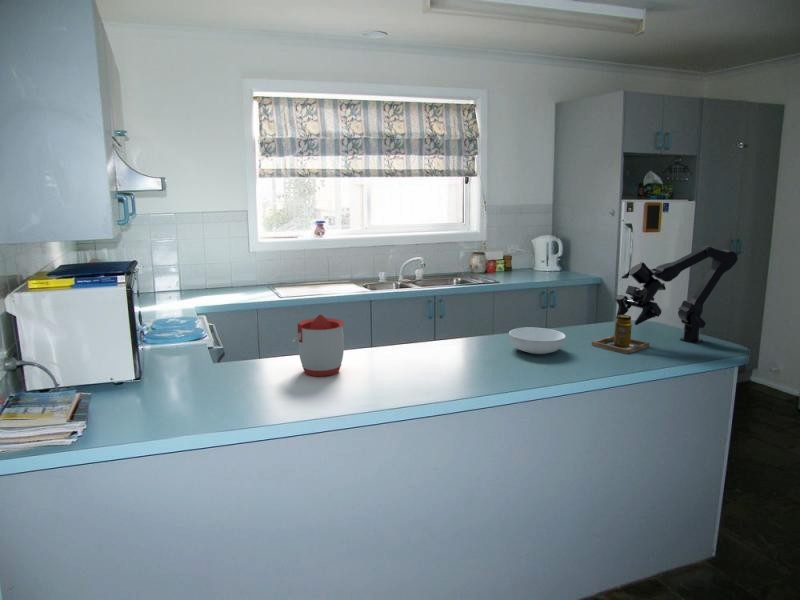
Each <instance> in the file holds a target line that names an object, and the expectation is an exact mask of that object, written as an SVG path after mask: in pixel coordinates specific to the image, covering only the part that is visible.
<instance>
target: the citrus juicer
mask: <svg viewBox="0 0 800 600" xmlns="http://www.w3.org/2000/svg"><path fill="white" fill-rule="evenodd" d="M344 325H345V322H344V321H343V320H341V319H337V318H331V317H330V318H328V317H325V316H324V315H323V314H321V313H320V314H318V315H317V316H316V317H315V318H308V319H304V320H301V321H299V322H298V323H297V333H296V334H294V335H293V336H292V342H298V355H299V359H300V363H301V367H302V370H303V371H304V373H305V374H306V375H309V376H312V377H325V376H326V377H327V376H333V375H335V374H337V373H338V372H340V369H341V367H342V362H343V358H344V351H345V349H344V347H345V345H344V344H345V343H344V342H345V341H344V340H345V339H344V338H345V337H344V336H345V335H344Z"/></svg>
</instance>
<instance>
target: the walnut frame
mask: <svg viewBox="0 0 800 600" xmlns="http://www.w3.org/2000/svg"><path fill="white" fill-rule="evenodd" d="M608 342H614V335H611V336H608V337H607V336H606V337H603V338H600V339H597V340H592V341H591V346H594V347H598V348H600V349H605V350H609V351H612V352H613V351H614V352H617V353H620V354H625V355H627V354H630V353H634V352H637V351H641V350H643V349H647V348H649V347H650V342H647V341H643V340H639V339H635V338H631V339H630V344H631V345H634V346H632V347H630V348H627V349H623V348H619V347H615V346H611V345H609V344H606V343H608ZM646 347H647V348H646Z"/></svg>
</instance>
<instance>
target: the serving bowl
mask: <svg viewBox="0 0 800 600" xmlns="http://www.w3.org/2000/svg"><path fill="white" fill-rule="evenodd" d="M508 335H509V336H508V337H509V340H510V343H511V345H513V347H515V348H516V349H518V350H519V351H521V352H522V351H523V352H525V353H528V354H533V355H545V354H550V353H554V352H557V351H558V350H560V349H561V348H562V347H563V346H564V344H565V343H566V338H567V336H566V335H565V333H563V332H562V331H558V330H555V329H552V328H545V327H544V328H543V327H526V326H525V327H518V328H514V329H511V330H510V331H509V332H508Z"/></svg>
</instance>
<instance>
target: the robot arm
mask: <svg viewBox="0 0 800 600" xmlns="http://www.w3.org/2000/svg"><path fill="white" fill-rule="evenodd" d="M707 258H710V259H712V261H711V268H710V270H709V271H708V273H707V274H706V276H705V278H704V279H703V280H702V282H701V284H700V285H699V287H698V288H697V290H696V291H695V293H694V295H693V296H692V297H691V299H689V300H688V301H687V300H683V301H682V302H681V304H680V306H679V307H678V308H677V309H678V311H677V314H678V315H677V316H678V318H679V319H680V321H681V323H682V324H683V325H684V330H683V337H681V338H679V341H680V340H681V341H684V342H688V343H689V342H690V343H695V344H696V343H699V342H702V341H703V338H700V334H701V329H704V328H705V326H706V325H707V324H706V322H705V320H704V319H703V318H702V315H703V314H702V313H703V310H704V309H703V308H704V305H705V303H706V301H707V300H708V298H709V297H710V295H711V294H712V292H713V291H714V289H715V288H716V286H717V284H718V283H719V281H720V280H721V278H722V277H723V275H724V274H726V273H727V272H728V271H729V270H731V269H732V268H733V267H734V266H735V265H736V263H738V260H739V258H738V254H737V253H736V252H734V251H732V250H728V249H717V248H714V247H712V246H709V245H703V246H701V247H700V248H698V249H696V250H694V251H692V252H690V253H689V254H686V255H685V256H683V257H681V258H679V259H676V260H675V261H672V262H667V263H663V264H661V265H657V266H656V268H651V269H650V268H649V267H648V266H647V265H646V263H644V262H642V261H641V262H640V263H638V264H635V265H634V266H632V267H631V268H630V269H629V271H628V274H629V275H630V276H631V278H633V279H634V280H635V281H636V282H637V283H638V284H639V285H640V284H642V286H640V287H637V286H633V285H628V286H627V288H626V291H625V294H627V295H629V297H630V299H629V297H628V296H627V295H623V294H618V295H617V296H615V301H616V303H617V304H618V308H617V313H616V316H615V320H617V316H618V315H626V314H627V313H628V312H629V309H630V308H631V307H634V308H639V309H642V311H641V313H640V314H639V315H638V317H636V320H635V322H634V325H635V326H638V325H640V324H641V323H644V322H646V321H648V320H651V319H652V318H656V317H658V318H659V317H660V315H661V314H662V309H661V307H660V305H659V304H658V303H657V302H655V298H654V297H655V296H656V294H657V293H658V292H659V291H666V284H665V283H668V282H672V281H673V280H674V279H676V278H677V277H678V276H679V275H680V274H681V272H683V271H684V270H686V269H688V268H690V267H692V266H694V265H696V264H698V263H700V262H702V261H703V260H706V259H707ZM661 281H662V282H663V283H662V282H661Z"/></svg>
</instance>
